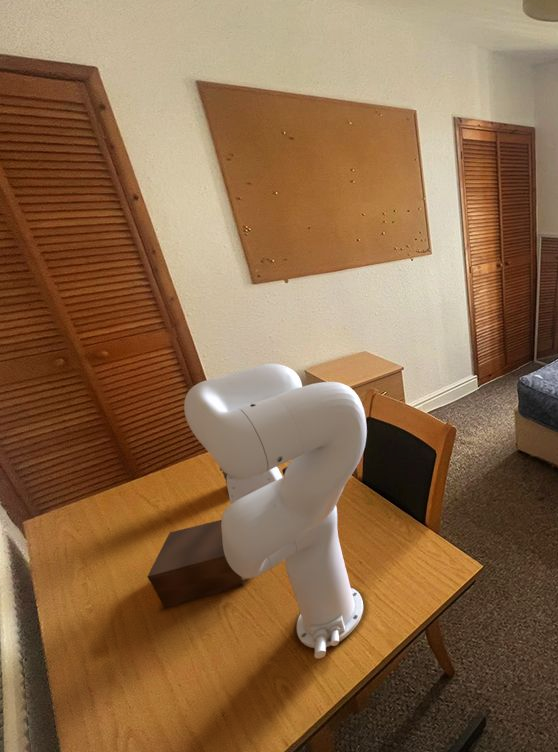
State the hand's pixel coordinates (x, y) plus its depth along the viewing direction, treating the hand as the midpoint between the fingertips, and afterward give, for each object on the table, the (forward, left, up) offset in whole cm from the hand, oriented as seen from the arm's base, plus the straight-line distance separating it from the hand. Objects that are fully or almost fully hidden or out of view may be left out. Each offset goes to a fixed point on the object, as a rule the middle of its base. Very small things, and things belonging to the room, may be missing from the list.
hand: (271, 528), depth 94 cm
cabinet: (+1, +14, -9) cm, 17 cm away
